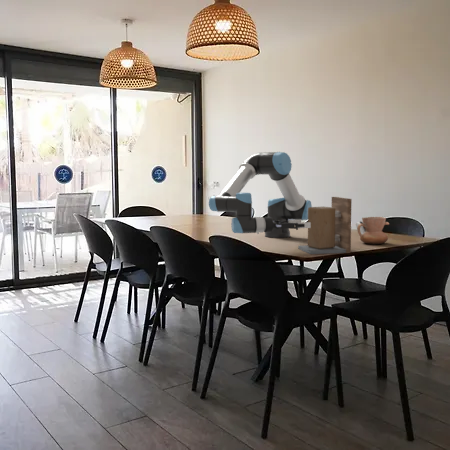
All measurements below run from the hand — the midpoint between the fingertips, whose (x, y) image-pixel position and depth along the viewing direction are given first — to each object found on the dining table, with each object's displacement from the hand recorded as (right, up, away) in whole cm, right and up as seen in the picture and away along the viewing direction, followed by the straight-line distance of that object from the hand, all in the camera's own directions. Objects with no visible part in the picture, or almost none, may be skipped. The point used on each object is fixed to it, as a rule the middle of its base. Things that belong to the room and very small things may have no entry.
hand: (305, 223), depth 258 cm
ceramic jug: (+40, -11, +26) cm, 49 cm away
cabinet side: (+18, -13, +5) cm, 22 cm away
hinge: (+44, -7, +60) cm, 75 cm away
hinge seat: (+8, -13, +3) cm, 16 cm away
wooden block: (+8, -12, +3) cm, 15 cm away
